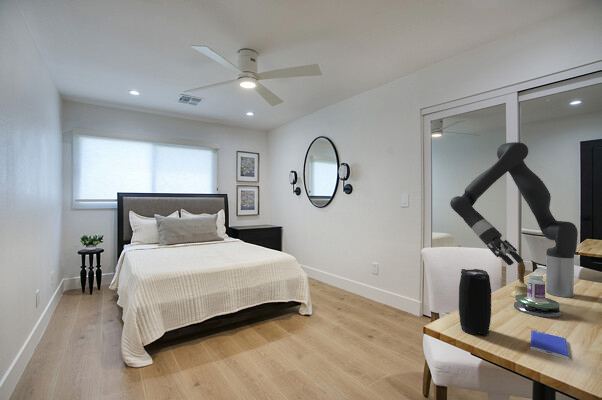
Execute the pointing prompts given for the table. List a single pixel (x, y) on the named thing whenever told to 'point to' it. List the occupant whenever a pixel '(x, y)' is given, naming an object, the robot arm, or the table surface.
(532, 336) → the hard drive
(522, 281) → the hand bell
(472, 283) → the portable speaker
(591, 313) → the table surface
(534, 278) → the pill bottle
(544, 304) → the levelling base
